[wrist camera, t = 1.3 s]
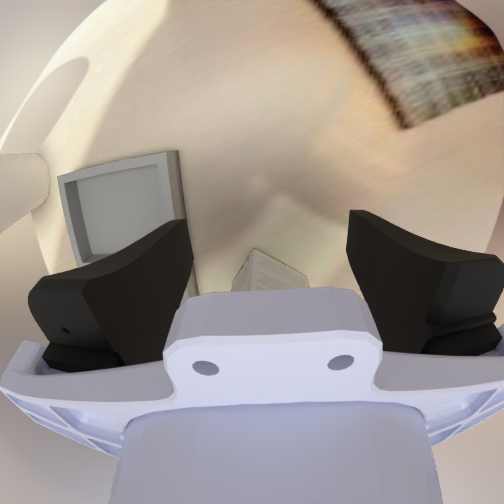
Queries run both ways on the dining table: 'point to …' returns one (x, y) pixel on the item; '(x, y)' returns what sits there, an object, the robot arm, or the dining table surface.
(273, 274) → the skincare box
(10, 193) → the foam cup
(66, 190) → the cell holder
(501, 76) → the dining table surface
